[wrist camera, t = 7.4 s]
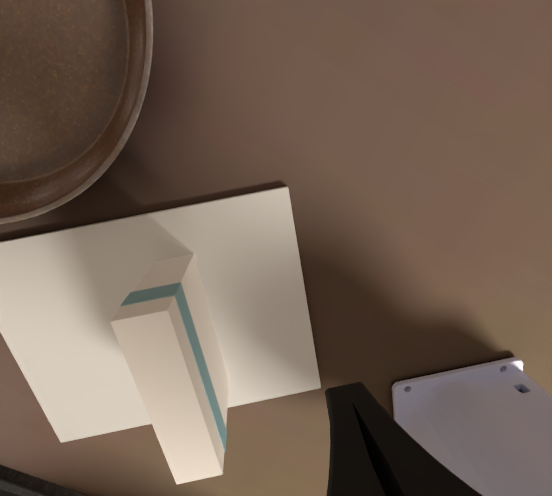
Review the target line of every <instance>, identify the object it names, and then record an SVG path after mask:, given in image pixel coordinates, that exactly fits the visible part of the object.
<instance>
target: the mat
mask: <svg viewBox="0 0 552 496" xmlns="http://www.w3.org/2000/svg"><path fill="white" fill-rule="evenodd" d="M189 254H194V256H195V259H196V263H197V266H198V270H199V273H200V277H201V280H202V284H203V287H204V291H205V294H206V298H207V301H208V305H209V309H210V312H211V316H212V319H213V323H214V326H215V330H216V333H217V337H218V340H219V344H220V347H221V351H222V354H223V358H224V361H225V365H226V369H227V372H228V376H229V392H228V406H227V408H228V407H233V406H238V405H243V404H247V403H252V402H257V401H262V400H267V399H271V398H276V397H281V396H286V395H290V394H295V393H300V392H305V391H309V390H314V389H319V388H321V384H320V378H319V372H318V366H317V360H316V354H315V348H314V342H313V336H312V329H311V323H310V317H309V311H308V305H307V299H306V293H305V287H304V281H303V275H302V269H301V262H300V256H299V250H298V244H297V238H296V232H295V226H294V220H293V214H292V208H291V202H290V196H289V189H288V186H285V187H280V188H275V189H270V190H264V191H259V192H254V193H249V194H244V195H239V196H233V197H228V198H223V199H218V200H213V201H208V202H202V203H197V204H192V205H187V206H182V207H177V208H171V209H166V210H161V211H156V212H151V213H145V214H140V215H135V216H130V217H125V218H120V219H114V220H109V221H104V222H99V223H94V224H89V225H83V226H78V227H73V228H68V229H63V230H58V231H52V232H47V233H42V234H37V235H32V236H27V237H21V238H16V239H11V240H6V241H1V242H0V332H1V334H2V336H3V338H4V339H5V341H6V343H7V345H8V347H9V349H10V350H11V352H12V354H13V356H14V358H15V360H16V361H17V363H18V365H19V367H20V369H21V371H22V372H23V374H24V376H25V378H26V380H27V382H28V383H29V385H30V387H31V389H32V391H33V392H34V394H35V396H36V398H37V400H38V402H39V403H40V405H41V407H42V409H43V411H44V413H45V414H46V416H47V418H48V420H49V422H50V424H51V425H52V427H53V429H54V431H55V433H56V435H57V436H58V438H59V440H60V442H61V443H62V442H67V441H71V440H76V439H81V438H86V437H90V436H95V435H100V434H105V433H109V432H114V431H119V430H124V429H128V428H133V427H138V426H143V425H147V424H152V423H151V421H150V418H149V416H148V413H147V411H146V408H145V406H144V403H143V401H142V398H141V396H140V394H139V391H138V389H137V386H136V384H135V381H134V379H133V376H132V374H131V372H130V369H129V367H128V364H127V362H126V359H125V357H124V354H123V352H122V350H121V347H120V345H119V342H118V340H117V337H116V335H115V332H114V330H113V327H112V325H111V323H110V321H111V320H112V319H113V317H114V316H115V315H116V313H117V312H118V311H119V309H120V308H121V306H120V305H121V304H122V302H123V301H124V300H125V299H126V297H127V296H128V295H129V293H130V292H133V291H134V289H135V288H136V287H137V285H138V284H139V283H140V281H141V280H142V279H143V277H144V276H145V275H146V273H147V272H148V271H149V269H150V268H151V267H152V265H153V264H154V263H155V261H159V260H164V259H169V258H174V257H179V256H184V255H189Z"/></svg>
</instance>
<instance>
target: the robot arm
mask: <svg viewBox="0 0 552 496" xmlns="http://www.w3.org/2000/svg"><path fill="white" fill-rule="evenodd" d="M407 386H408V387H407ZM405 387H407V388H405ZM325 395H326V401H327V408H328V414H329V420H330V440H331V442H330V467H329V480H328V489H327V496H552V396H551V395H550V394H549V393H548V392H547V391H545V390H544V389H543V388H542V387H541V386H539V385H538V384H537V383H536V382H535V381H533V380H532V379H531V378H530V377H529V376H528V375H526V374H525V373H524V372H523V362H522V361H521V360H520V359H519V358H517V357H513V358H508V359H503V360H498V361H494V362H489V363H484V364H479V365H475V366H470V367H465V368H460V369H456V370H451V371H446V372H441V373H437V374H432V375H427V376H422V377H418V378H413V379H408V380H403V381H399V382H396V383H394V384H393V386H392V398H393V413H394V419H393V418H392V417H391V416H390V415H389V414H388V413H387V412H386V411H385V409H384V408H383V407H382V406H381V405H380V404H379V403H378V402H377V401H376V399H375V398H374V397H373V396H372V395H371V393H370V392H369V391H368V390H367V388H366V387H365V386H364V385H363V384H362V383H361V382H357V383H353V384H348V385H343V386H338V387H334V388H329V389H327V390H326V391H325Z"/></svg>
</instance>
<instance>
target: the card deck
mask: <svg viewBox="0 0 552 496" xmlns="http://www.w3.org/2000/svg"><path fill="white" fill-rule="evenodd" d="M120 306H121V308H120V309H119V311H118V312H117V313H116V315H115V316H114V317H113V319H112V320H111V321H110V323H111V325H112V327H113V330H114V332H115V335H116V337H117V340H118V342H119V345H120V347H121V350H122V352H123V354H124V357H125V359H126V362H127V364H128V367H129V369H130V372H131V374H132V376H133V379H134V381H135V384H136V386H137V389H138V391H139V394H140V396H141V398H142V401H143V403H144V406H145V408H146V411H147V413H148V416H149V418H150V421H151V423H152V425H153V428H154V430H155V433H156V435H157V438H158V440H159V443H160V445H161V447H162V450H163V452H164V455H165V457H166V460H167V462H168V465H169V467H170V469H171V472H172V474H173V477H174V479H175V482H176V484H181V483H186V482H191V481H195V480H200V479H204V478H209V477H214V476H218V475H223V463H224V452H226V437H227V430H226V420H227V406H228V392H229V376H228V372H227V369H226V365H225V361H224V358H223V354H222V351H221V347H220V344H219V340H218V337H217V333H216V330H215V326H214V323H213V319H212V316H211V312H210V309H209V305H208V301H207V298H206V294H205V291H204V287H203V284H202V280H201V277H200V273H199V270H198V266H197V263H196V259H195V256H194V254H189V255H184V256H179V257H174V258H169V259H164V260H159V261H155V263H154V264H153V265H152V267H151V268H150V269H149V271H148V272H147V273H146V275H145V276H144V277H143V279H142V280H141V281H140V283H139V284H138V285H137V287H136V288H135V289H134V291H133V292H130V293H129V295H128V296H127V297H126V299H125V300H124V301H123V302H122V304H121V305H120Z"/></svg>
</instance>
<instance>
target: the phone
mask: <svg viewBox="0 0 552 496" xmlns="http://www.w3.org/2000/svg"><path fill="white" fill-rule="evenodd" d="M0 496H87V495H84V494H81V493H78V492H75V491H73V490H70V489H67V488H64V487H61V486H58V485H55V484H53V483H50V482H47V481H44V480H41V479H38V478H36V477H33V476H30V475H27V474H24V473H21V472H18V471H16V470H13V469H10V468H7V467H4V466H1V465H0Z"/></svg>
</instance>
